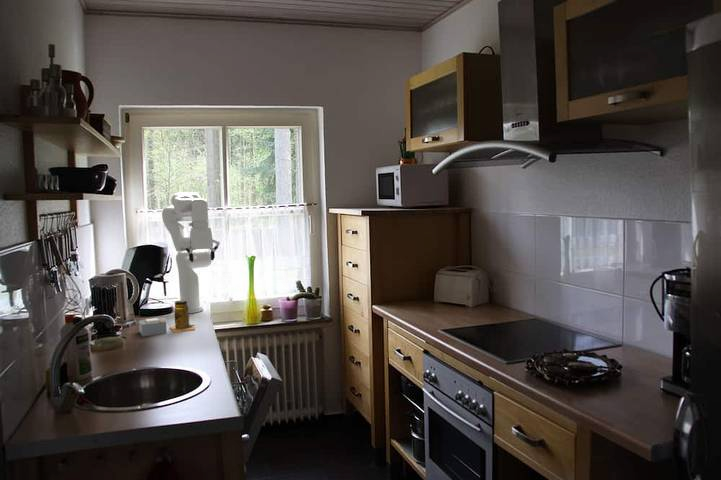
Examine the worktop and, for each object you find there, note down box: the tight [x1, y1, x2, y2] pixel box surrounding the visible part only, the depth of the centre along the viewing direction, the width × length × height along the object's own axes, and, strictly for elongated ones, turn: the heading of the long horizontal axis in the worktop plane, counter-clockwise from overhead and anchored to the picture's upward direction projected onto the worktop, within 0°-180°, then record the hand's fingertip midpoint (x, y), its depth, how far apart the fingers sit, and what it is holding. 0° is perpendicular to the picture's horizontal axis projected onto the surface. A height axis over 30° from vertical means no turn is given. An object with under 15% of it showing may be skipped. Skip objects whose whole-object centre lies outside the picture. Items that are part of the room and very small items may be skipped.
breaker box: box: [138, 317, 167, 337], centre depth 264 cm, size 10×10×5 cm
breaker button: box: [144, 317, 159, 323], centre depth 264 cm, size 5×5×4 cm
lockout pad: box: [169, 323, 196, 333], centre depth 269 cm, size 11×9×1 cm
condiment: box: [172, 300, 195, 329], centre depth 269 cm, size 7×8×12 cm
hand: (202, 260), depth 286 cm, fingers open, 9 cm apart
